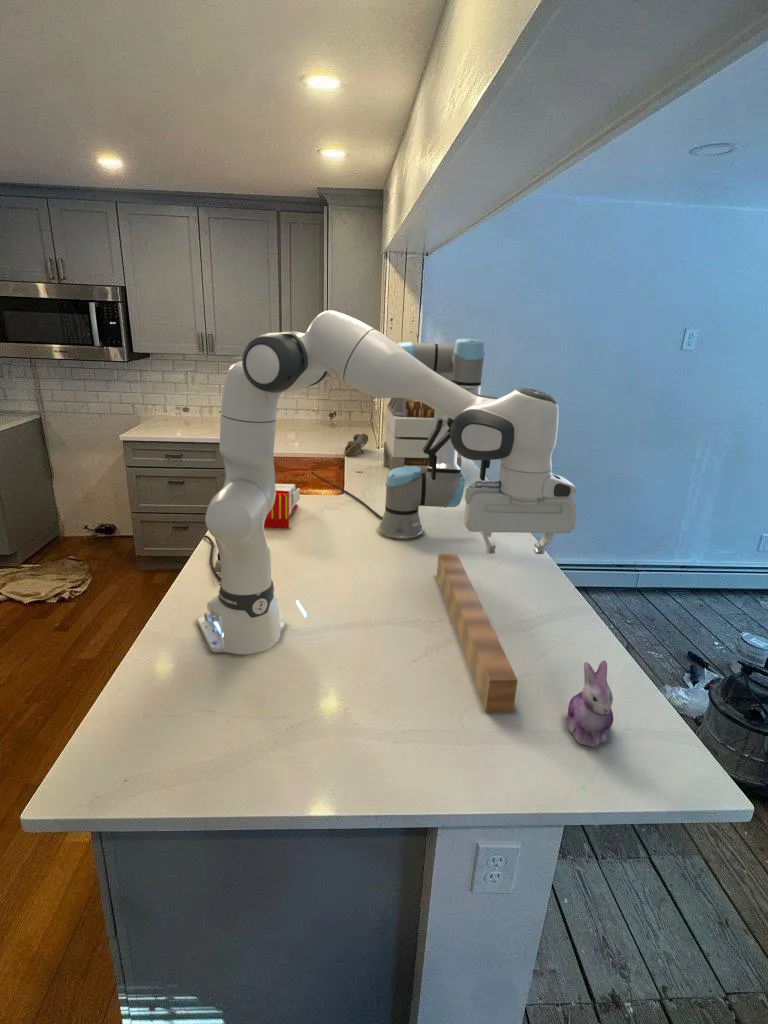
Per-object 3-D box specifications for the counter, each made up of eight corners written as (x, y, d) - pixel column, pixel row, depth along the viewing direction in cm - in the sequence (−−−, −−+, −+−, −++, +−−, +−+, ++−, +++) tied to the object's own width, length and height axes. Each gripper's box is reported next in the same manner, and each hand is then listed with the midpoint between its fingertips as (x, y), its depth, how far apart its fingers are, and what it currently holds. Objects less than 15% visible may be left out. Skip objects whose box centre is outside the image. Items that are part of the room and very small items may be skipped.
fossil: (344, 439, 317) (365, 424, 312) (355, 453, 320) (376, 438, 315) (338, 453, 298) (360, 437, 293) (349, 467, 300) (371, 451, 295)
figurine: (591, 756, 102) (606, 687, 97) (551, 721, 111) (563, 655, 106) (628, 741, 107) (644, 673, 101) (587, 708, 115) (599, 644, 110)
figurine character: (238, 584, 162) (249, 557, 175) (236, 562, 158) (247, 536, 172) (215, 584, 161) (227, 556, 175) (212, 561, 158) (225, 535, 171)
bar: (436, 576, 169) (438, 553, 167) (454, 576, 170) (457, 553, 167) (485, 712, 113) (489, 680, 110) (513, 711, 113) (517, 680, 111)
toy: (301, 479, 224) (291, 492, 194) (301, 512, 226) (291, 530, 197) (270, 478, 223) (256, 491, 194) (271, 511, 226) (256, 529, 197)
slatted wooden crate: (382, 463, 289) (386, 382, 275) (445, 464, 293) (451, 384, 279) (390, 482, 257) (394, 392, 243) (460, 483, 261) (468, 394, 247)
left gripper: (470, 486, 97) (463, 559, 102) (585, 488, 99) (572, 560, 104) (463, 475, 103) (456, 545, 108) (571, 478, 105) (560, 546, 110)
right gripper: (419, 401, 143) (414, 482, 150) (515, 404, 145) (506, 483, 153) (415, 397, 150) (410, 474, 157) (507, 400, 152) (498, 475, 160)
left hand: (514, 552), depth 106 cm, fingers open, 8 cm apart
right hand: (457, 479), depth 155 cm, fingers open, 13 cm apart
